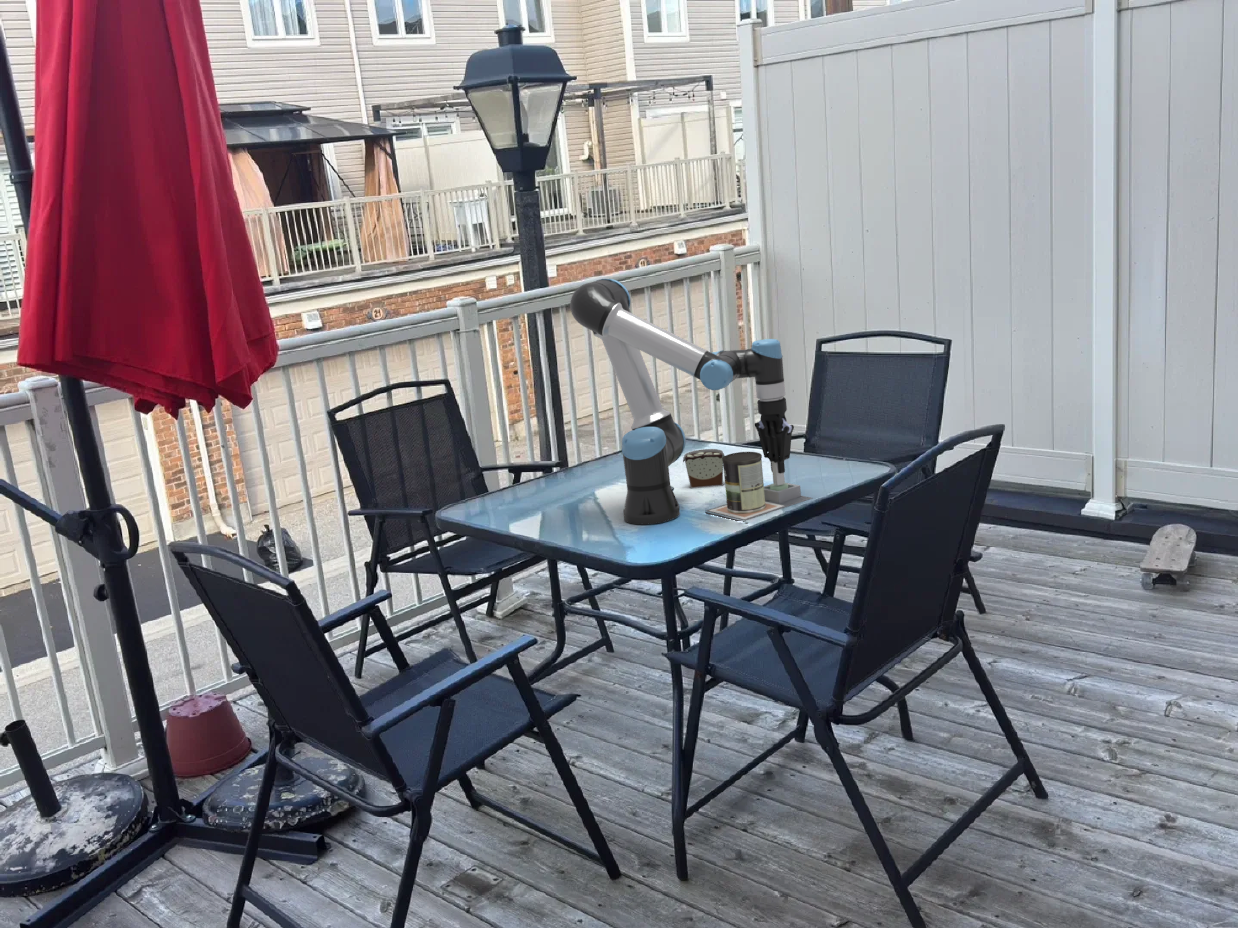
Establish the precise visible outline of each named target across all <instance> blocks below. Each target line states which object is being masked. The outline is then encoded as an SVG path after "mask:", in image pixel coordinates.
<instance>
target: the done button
mask: <svg viewBox="0 0 1238 928" xmlns="http://www.w3.org/2000/svg"><path fill="white" fill-rule="evenodd" d="M787 483H788V482H785V484H782V485H779V486H776V485H774V484H773V483H770V484H771V485H770V484H769V485H770V490H775V491H780V490H784V489H787V488H788V484H787Z"/></svg>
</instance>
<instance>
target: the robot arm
mask: <svg viewBox="0 0 1238 928" xmlns="http://www.w3.org/2000/svg"><path fill="white" fill-rule="evenodd" d="M569 304H570V305H569V306H570V311H571V315H572V317H573V318H574V319H575V321H576V322H577V323H578V324H579V325H581V326H582V327H584V328H586V329H587V330H589V331H592V334H593V336H594V337H597V338H599V339H601V341H602V343H603V346H604V348H605V351H606V353H607V355H608V358H609V361H610V363H611V367H612V369H613V371H614V373H615V377H616V379H617V381H618V383H619V385H620V389H621V391H622V393H623V396H624V398H625V401H626V403H627V406H628V409H629V411H630V413H631V416H632V418H633V423H631V424H632V425H631V430H629V431H627V432H626V433H624V435H623V436H622V439H621V452H622V459H623V465H624V466H623V467H624V472H625V473H624V474H625V475H624V476H625V482H626V491H627V492H626V497H625V503H624V509H623V513H622V514H623V519H624V522H626V523H628V524H633V525H655V524H656V525H657V524H661V523H662V524H663V523H665V522H668V521H672V520H674V519H677V518H678V517H679V516H680V515H681V511H680V504H679V502H678V500H677V497H676V495H675V492H674V491H673V488H672V486H671V479H670V469H669V467H670V465H672V464H675V462H676V461H678V460H679V459H680V457H681V456H682V454H683V453H684V450H685V447H686V442H687V440H686V435H685V431H684V430H683V428H682V427H681V425H680V424H679V423H677V422H675V420H674V418H673V416H672V413H671V412H670V411H669V410H666V409H664V408H663V405H662V403H661V401H660V397H659V396H658V393H657V391H656V388H655V385H654V383H653V380H652V377H651V375H650V373H649V371H648V368H647V365H646V362H645V360H644V358H643V355H642V352H643V353H645V354H647V355H649V356H651V357H654V358H655V359H657V360H660V361H661V362H663V363H666V364H668V365H669V366H671V367H674V368H675V369H677V370H679V371H682V372H683V373H686V374H687V375H690V376H691V377H693V378H695V379H697V380H699V381H700V382H701V384H702V385H703V386H704V387H705V388H706V389H707V390H711V391H720V390H722V389H725V388H727V387H728V386H729V385H730V384H731V383H732V382H733V381H735V380H736V379H737V380H738V379H746V378H754V381H755V392H756V395H755V396H756V398H757V411H758V414H759V415H760V420H759V421H757V422H755V423H754V427H755V429H756V431H757V433H758V437H759V443H760V445H761V450H762V454H763V457H764V458H765V459H766V458H767V459H768V460H769V462H770V469H771V473H772V479H773V483H774V485H776V486H779V485H782V484H785V483H786V481H785V473H786V466H785V461H786V460H788V459H791V445H792V444H791V443H792V437H793V436H792V435H793V432H794V428H795V426H794V424H789V423H788V422H787V417H786V412H787V410H788V408H787V400H786V397H785V396H786V388H785V387H786V386H785V376H784V365H783V361H784V360H783V357H784V356H783V354H782V346H781V342H780V341H779V340H778V339H776V338H765V339H757V340H755V341H752V344H751V348H748V349H733V350H731V349H730V350H720V351H714V352H713V351H712V352H711V351H708V350H707V349H705V348H703V347H702V346H699V345H697V344H695V343H693V342H691V341H688V340H687V339H685V338H682V337H680V335H679V336H678V335H676V334H675V333H672V332H671V331H669V330H667V329H664V328H662V327H660V326H658V325H656V324H654V323H653V322H650V321H648V320H646V319H645V318H642V317H640V316H638V315H636V314H634V313H632V312H631V310H630V307H631V295H630V293H629V291H628V289H627V287H626V286H625V285H624V284H622V282H620V281H619V280H616V279H613V278H600V279H598V280H595V281H594V280H593V281H591V282H587V283H585V284H581V285H580V286H579V287H577V288H576V289H575V290H574V292H573V294H572V296H571V298H570V303H569Z"/></svg>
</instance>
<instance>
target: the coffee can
mask: <svg viewBox="0 0 1238 928" xmlns="http://www.w3.org/2000/svg"><path fill="white" fill-rule="evenodd" d="M762 456H763V455H762V453H760V452H757V451H740V452H734V453H732V452H731V453H729V454H726V455H725V456H724V457H723V458H722V461H723V479H724V485H725V486H724V487H725V497H726V504H727V510H728V511H729V512H732V513H739V514H743V513H753V512H757V511H760V510H763V509H764V508H765V507H766V505H765V495H764V486H765V483H764V474H763V472H764V471H763V462H762V458H763V457H762Z"/></svg>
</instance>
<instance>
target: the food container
mask: <svg viewBox="0 0 1238 928" xmlns="http://www.w3.org/2000/svg"><path fill="white" fill-rule="evenodd" d="M724 456H726V455H725V452H723V450H721V449H716V448H705V449H697V450H692V451H689V452H686V453H684V455H683V457H682V458H683V459H682V462H683V463H685V468H686V473H687V476H688V482H689V486H690V487H689V488H690V489H699V488H700V489H701V488H710V487H723V486H724V468H723V461H722V458H723V457H724Z"/></svg>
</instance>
